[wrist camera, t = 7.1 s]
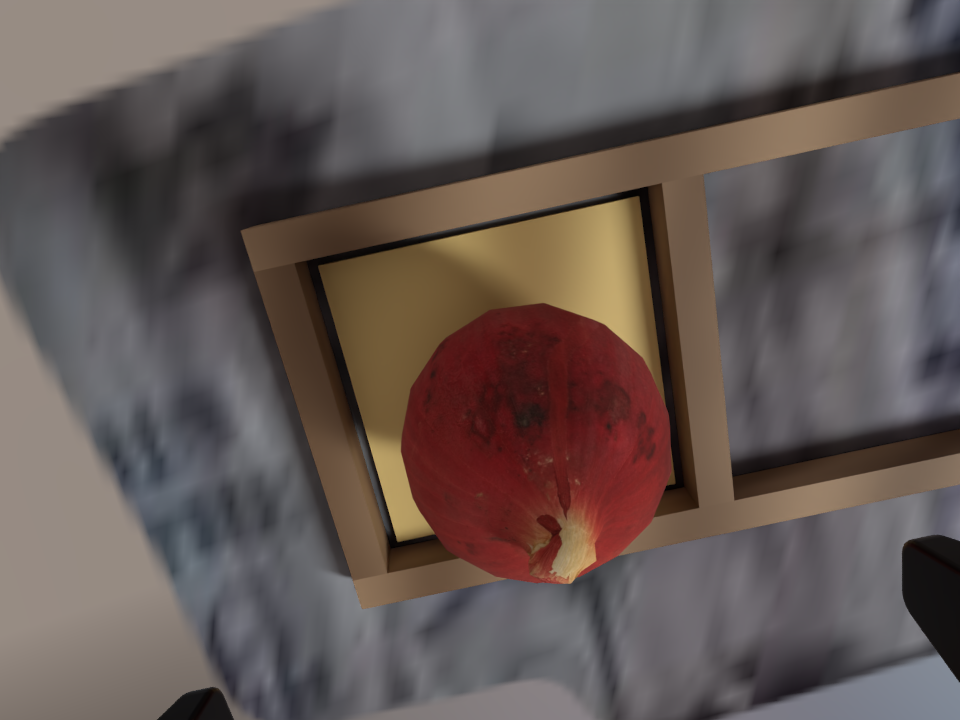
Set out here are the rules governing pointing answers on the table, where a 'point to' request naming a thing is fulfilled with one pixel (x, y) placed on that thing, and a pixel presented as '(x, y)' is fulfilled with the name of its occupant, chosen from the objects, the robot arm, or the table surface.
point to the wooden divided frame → (570, 286)
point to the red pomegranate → (536, 443)
